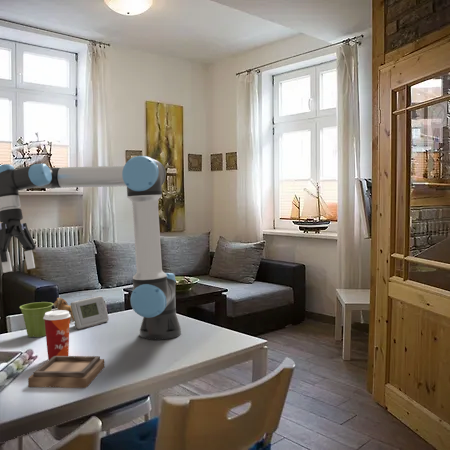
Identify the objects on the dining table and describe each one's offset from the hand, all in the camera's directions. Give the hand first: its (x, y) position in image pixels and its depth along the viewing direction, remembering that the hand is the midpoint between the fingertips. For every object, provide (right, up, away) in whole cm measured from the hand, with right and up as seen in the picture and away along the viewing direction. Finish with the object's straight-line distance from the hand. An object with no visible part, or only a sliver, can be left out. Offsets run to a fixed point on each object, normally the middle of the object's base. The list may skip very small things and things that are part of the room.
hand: (20, 270), depth 170 cm
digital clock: (+16, -25, +29) cm, 41 cm away
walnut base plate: (+26, -28, -29) cm, 48 cm away
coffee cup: (+18, -27, -13) cm, 35 cm away
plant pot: (0, -26, +15) cm, 30 cm away
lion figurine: (+4, -25, +36) cm, 44 cm away
